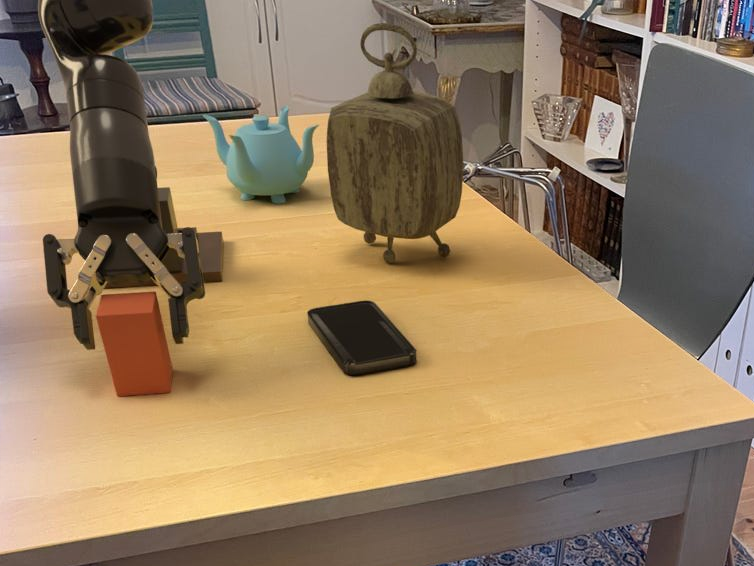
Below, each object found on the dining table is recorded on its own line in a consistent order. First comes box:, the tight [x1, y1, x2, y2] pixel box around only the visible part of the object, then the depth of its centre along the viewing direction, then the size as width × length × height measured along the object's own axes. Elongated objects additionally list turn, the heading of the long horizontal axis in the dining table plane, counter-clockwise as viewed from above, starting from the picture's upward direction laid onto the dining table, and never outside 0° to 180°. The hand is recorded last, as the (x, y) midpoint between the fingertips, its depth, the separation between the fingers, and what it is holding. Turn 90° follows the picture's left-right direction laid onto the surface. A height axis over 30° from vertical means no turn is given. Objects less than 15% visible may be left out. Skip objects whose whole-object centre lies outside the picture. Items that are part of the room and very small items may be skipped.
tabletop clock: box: [326, 22, 465, 265], centre depth 110 cm, size 14×9×25 cm, turn 66°
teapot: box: [202, 105, 320, 204], centre depth 133 cm, size 13×13×10 cm
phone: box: [306, 299, 418, 376], centre depth 99 cm, size 8×1×15 cm
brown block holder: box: [104, 186, 224, 289], centre depth 113 cm, size 14×14×9 cm
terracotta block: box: [95, 291, 174, 397], centre depth 90 cm, size 5×5×8 cm
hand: (134, 343), depth 88 cm, fingers open, 7 cm apart
